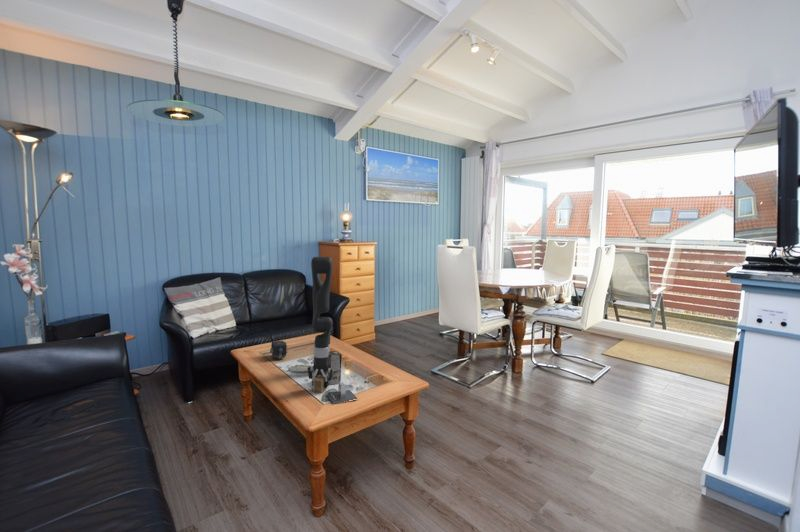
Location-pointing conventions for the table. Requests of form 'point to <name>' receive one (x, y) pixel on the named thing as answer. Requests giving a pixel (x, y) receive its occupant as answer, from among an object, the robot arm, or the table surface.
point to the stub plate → (338, 399)
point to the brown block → (319, 384)
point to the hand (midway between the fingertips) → (320, 387)
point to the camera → (278, 349)
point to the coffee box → (335, 366)
